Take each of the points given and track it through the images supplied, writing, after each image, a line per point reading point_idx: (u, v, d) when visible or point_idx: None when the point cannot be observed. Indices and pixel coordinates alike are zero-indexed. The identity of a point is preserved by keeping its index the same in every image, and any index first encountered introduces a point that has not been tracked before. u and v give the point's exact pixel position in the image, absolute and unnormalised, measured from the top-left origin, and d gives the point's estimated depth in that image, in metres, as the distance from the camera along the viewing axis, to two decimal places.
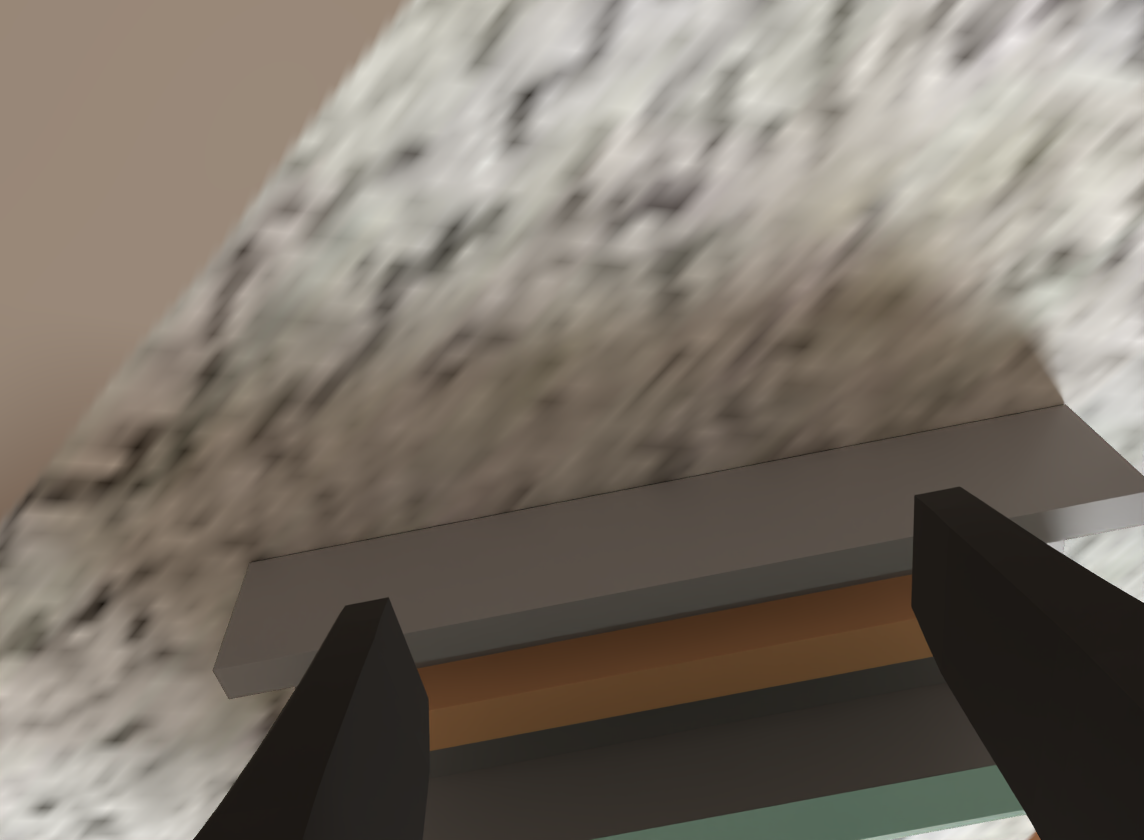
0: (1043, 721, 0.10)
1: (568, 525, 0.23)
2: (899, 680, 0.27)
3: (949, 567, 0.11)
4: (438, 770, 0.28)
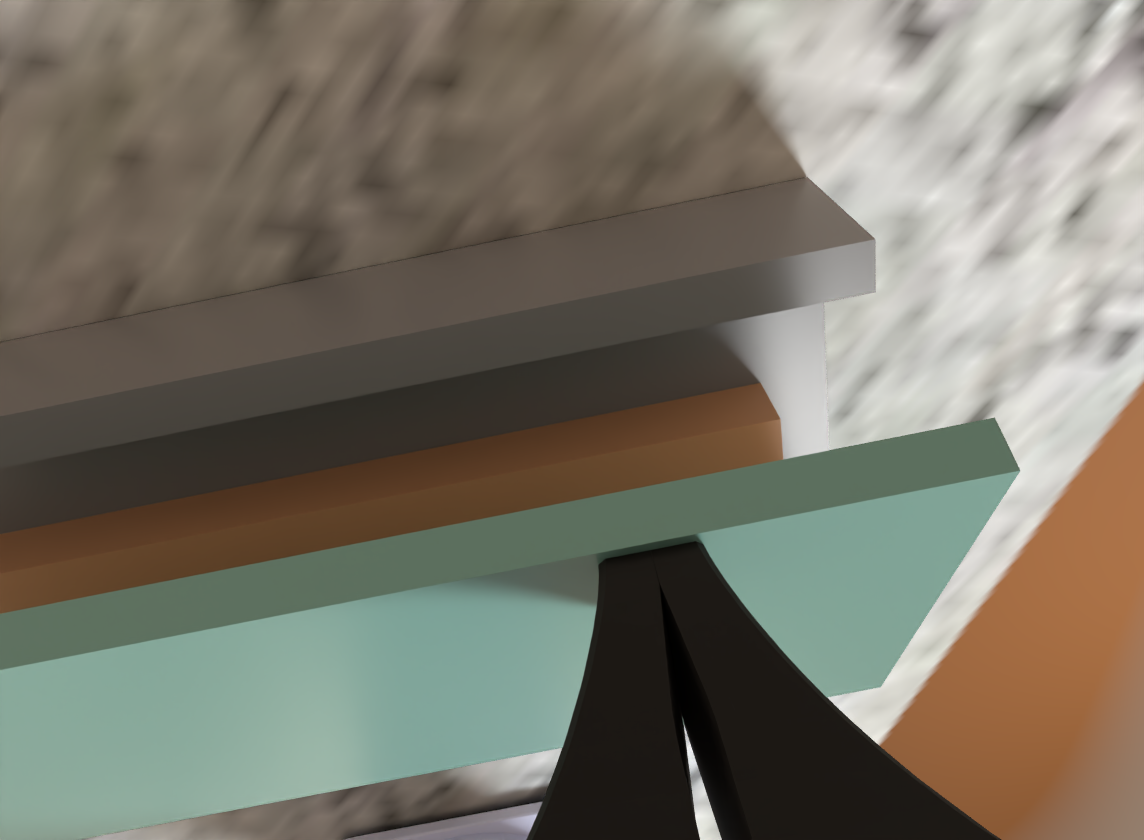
0: (719, 781, 0.10)
1: (170, 325, 0.18)
2: None
3: (667, 621, 0.11)
4: None
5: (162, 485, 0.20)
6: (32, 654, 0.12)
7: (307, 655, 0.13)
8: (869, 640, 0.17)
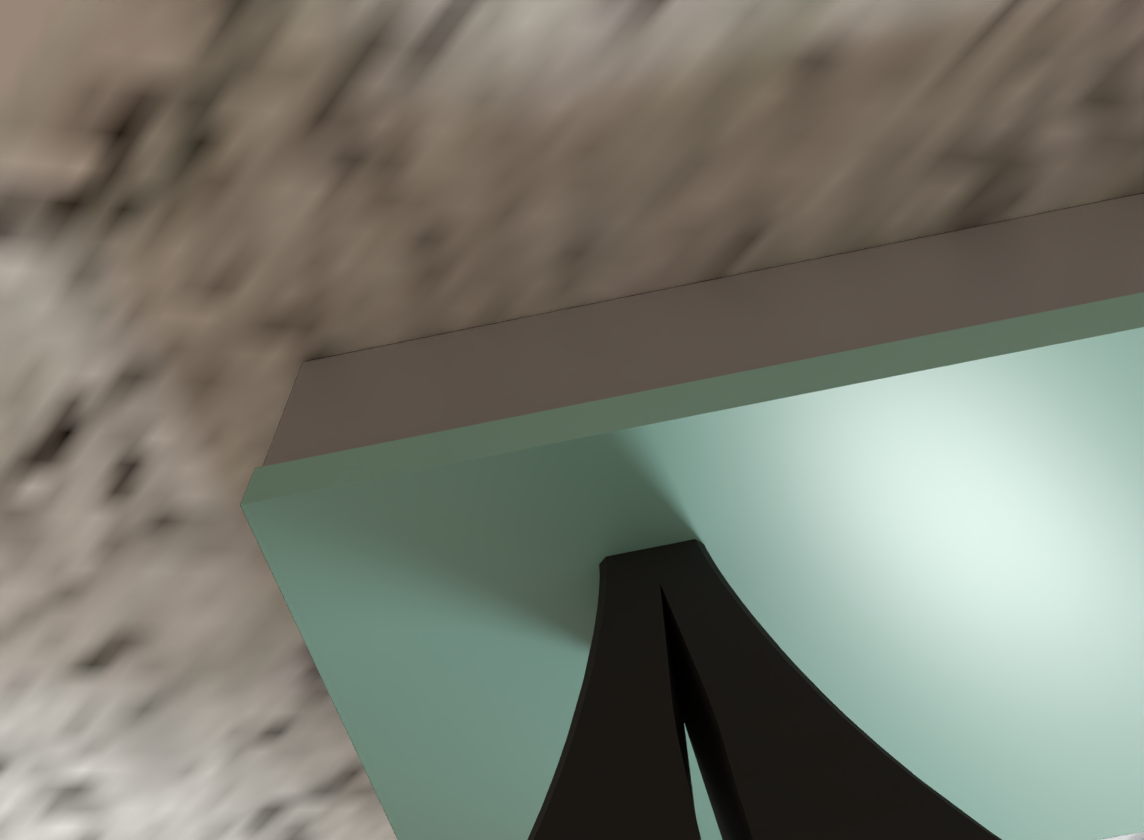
0: (719, 781, 0.10)
1: (833, 283, 0.14)
2: None
3: (667, 621, 0.11)
4: None
5: None
6: (947, 359, 0.11)
7: None
8: None
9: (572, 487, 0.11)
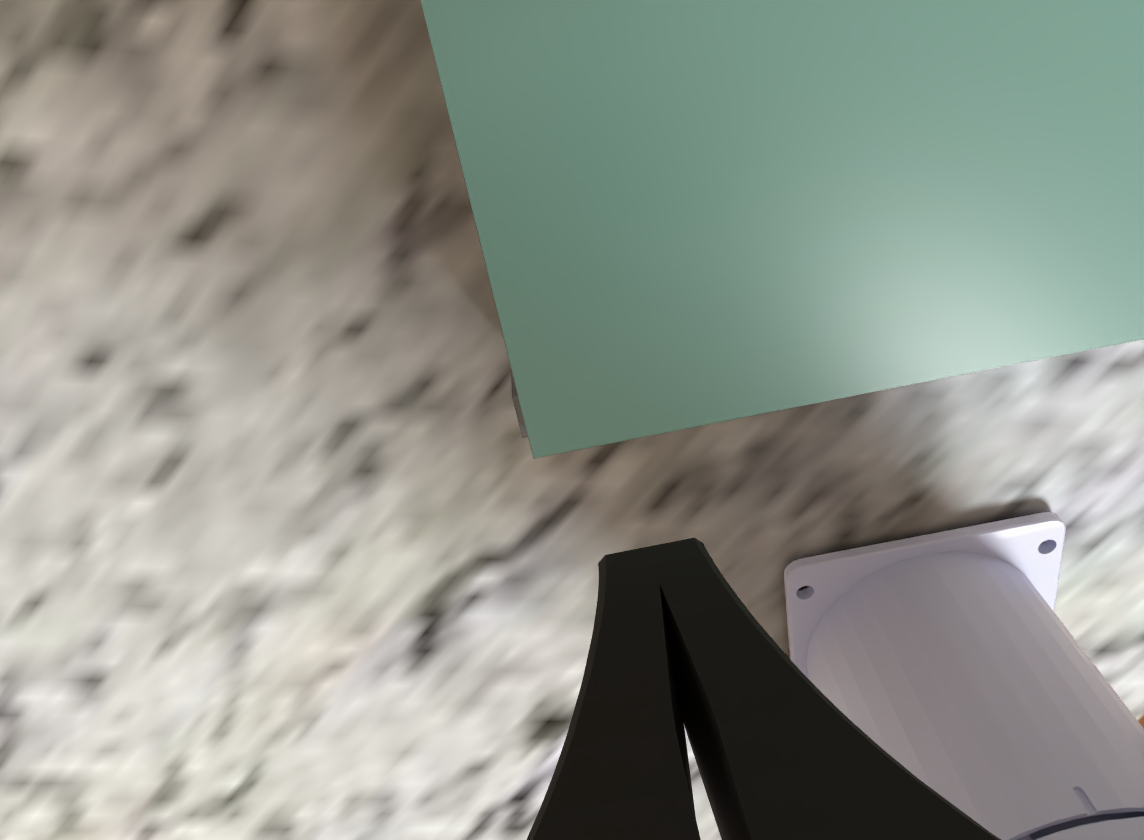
0: (719, 781, 0.10)
1: None
2: None
3: (667, 621, 0.11)
4: None
5: None
6: None
7: None
8: None
9: None
